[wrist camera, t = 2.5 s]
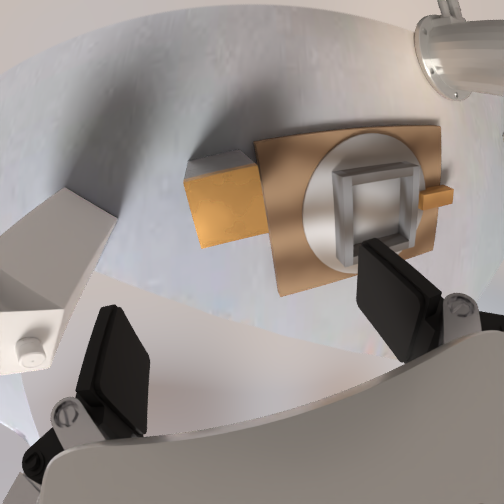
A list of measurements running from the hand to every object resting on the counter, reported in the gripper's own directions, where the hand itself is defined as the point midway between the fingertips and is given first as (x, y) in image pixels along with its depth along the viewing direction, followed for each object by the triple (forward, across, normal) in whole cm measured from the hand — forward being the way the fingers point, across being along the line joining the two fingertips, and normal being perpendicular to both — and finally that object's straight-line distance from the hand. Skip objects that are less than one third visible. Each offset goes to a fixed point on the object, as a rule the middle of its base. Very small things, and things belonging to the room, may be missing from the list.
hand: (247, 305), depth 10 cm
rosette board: (+19, -17, +6) cm, 26 cm away
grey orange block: (+19, -1, 0) cm, 19 cm away
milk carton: (+20, +15, +1) cm, 25 cm away
